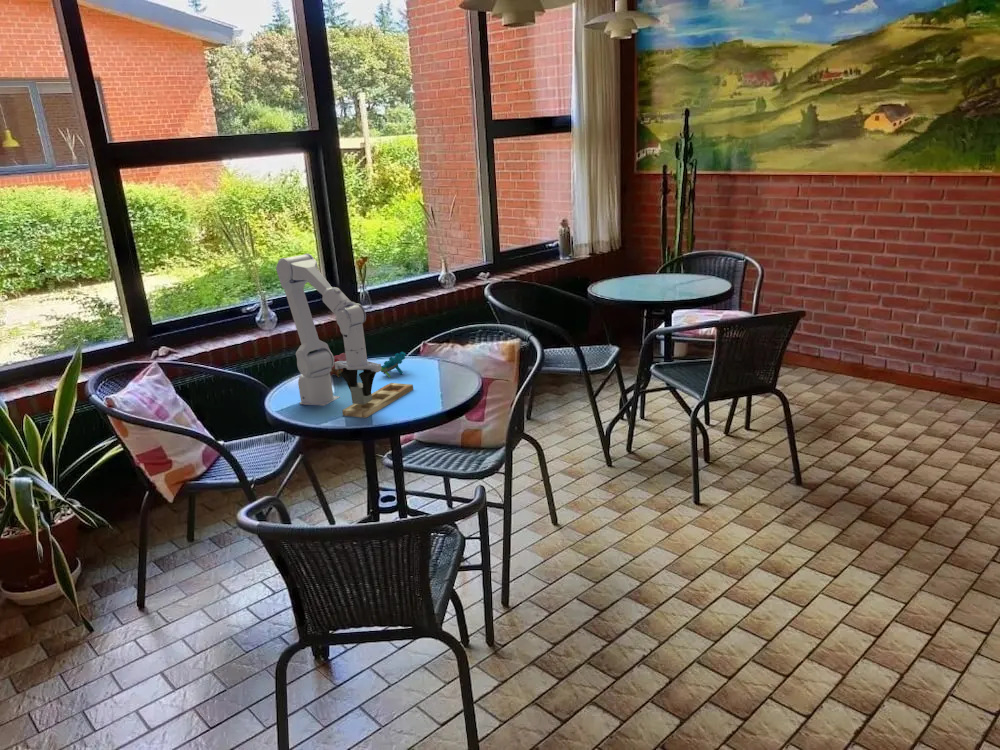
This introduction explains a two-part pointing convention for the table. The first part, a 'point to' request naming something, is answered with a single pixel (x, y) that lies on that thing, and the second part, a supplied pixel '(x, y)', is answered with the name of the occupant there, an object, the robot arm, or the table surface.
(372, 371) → the robot arm
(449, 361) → the table surface
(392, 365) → the teal toy dinosaur
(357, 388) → the block
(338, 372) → the flower
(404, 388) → the hole board
